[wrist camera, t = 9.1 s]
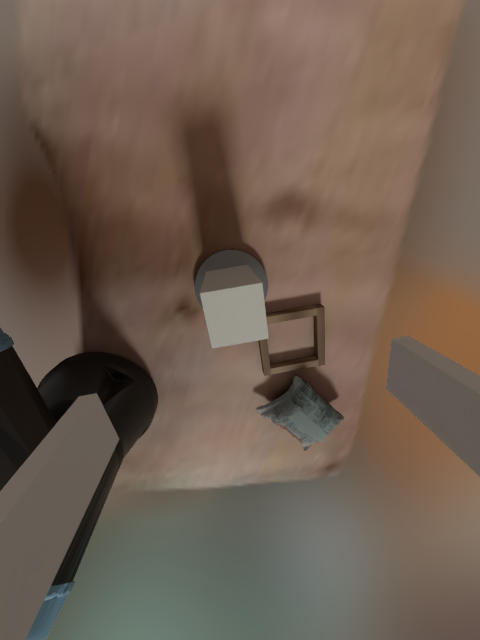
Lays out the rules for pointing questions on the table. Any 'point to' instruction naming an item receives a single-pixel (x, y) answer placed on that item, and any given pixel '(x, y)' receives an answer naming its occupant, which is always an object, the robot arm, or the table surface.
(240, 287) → the grey block
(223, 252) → the grey disc
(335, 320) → the table surface
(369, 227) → the table surface
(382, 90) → the table surface
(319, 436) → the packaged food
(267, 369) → the walnut holder
